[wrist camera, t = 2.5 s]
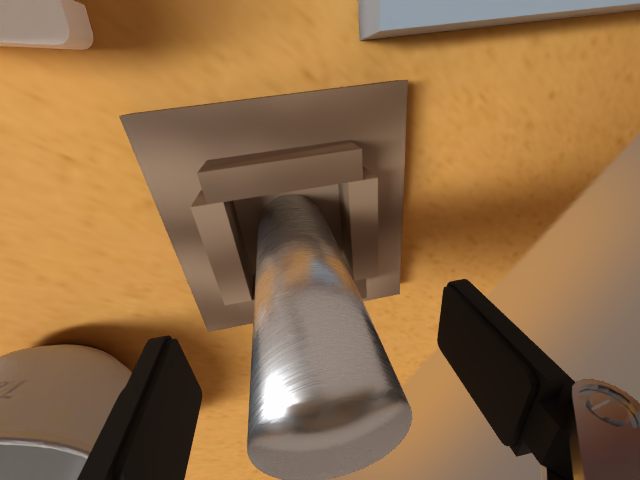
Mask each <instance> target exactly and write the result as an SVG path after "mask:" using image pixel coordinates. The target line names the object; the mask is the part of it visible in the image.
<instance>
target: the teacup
mask: <svg viewBox="0 0 640 480" xmlns="http://www.w3.org/2000/svg"><path fill="white" fill-rule="evenodd" d="M131 374H132V372H131V371H130V370H129V369H128V368H127V367H126V366H124V365H123V364H122V363H120V362H119V361H118V360H117V359H116V358H114V357H113V356H111V355H110V354H108V353H106V352H104V351H101V350H98V349H95V348H92V347H87V346H82V345H68V344H63V345H52V346H40V347H33V348H27V349H22V350H18V351H15V352H12V353H9V354H6V355H3V356H1V357H0V480H77V479H78V476H79V474H80V472H81V470H82V468H83V466H84V464H85V462H86V460H87V458H88V456H89V454H90V452H91V450H92V448H93V446H94V444H95V442H96V440H97V438H98V436H99V434H100V432H101V430H102V428H103V426H104V424H105V422H106V420H107V418H108V416H109V414H110V412H111V410H112V408H113V406H114V404H115V402H116V400H117V398H118V396H119V394H120V393H121V391H122V390H123V389H124V388H125V386H126V384H127V382H128V380H129V378H130V376H131Z"/></svg>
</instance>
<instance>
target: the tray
mask: <svg viewBox="0 0 640 480" xmlns="http://www.w3.org/2000/svg"><path fill="white" fill-rule="evenodd" d="M635 10H640V0H359V31H360V41H362V40H371V39H380V38H389V37H398V36H407V35H416V34H425V33H435V32H444V31H453V30H462V29H471V28H480V27H489V26H498V25H508V24H517V23H526V22H535V21H544V20H553V19H562V18H571V17H581V16H590V15H599V14H608V13H617V12H626V11H635Z"/></svg>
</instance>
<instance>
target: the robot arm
mask: <svg viewBox="0 0 640 480" xmlns="http://www.w3.org/2000/svg"><path fill="white" fill-rule="evenodd" d="M437 341H438V346H439V348H440V350H441V352H442V353H443V355H444V356H445V358H446V359H447V361H448V362H449V364H450V365H451V366H452V368H453V370H454V371H455V373H456V374H457V376H458V377H459V379H460V380H461V382H462V383H463V385H464V386H465V388H466V389H467V391H468V392H469V394H470V395H471V397H472V398H473V400H474V401H475V403H476V404H477V406H478V407H479V409H480V410H481V412H482V413H483V415H484V416H485V418H486V419H487V421H488V423H489V424H490V426H491V427H492V429H493V430H494V432H495V433H496V435H497V436H498V438H499V439H500V440H501V442H502V443H503V444H504V445H506V446H510V448H511V449H512V451H513V452H514V454H515V455H516V456H521V455H525V454H529V453H533V455H534V456H535V457H536V459H537V460H538V461H539V463H540V464H541V480H640V403H639V402H638V401H637V400H636V399H634V398H633V397H632V396H630V395H629V394H628V393H627V392H625V391H623V390H621V389H619V388H618V387H616V386H614V385H611V384H609V383H606V382H604V381H599V380H595V379H582V380H579V381H577V382H575V381H573V380H572V379H571V378H570V377H569V376H568V375H567V374H566V373H565V372H564V371H563V370H562V369H561V368H560V367H559V366H558V365H557V364H556V363H555V362H554V361H553V360H551V359H550V358H549V357H548V356H547V355H546V354H545V353H544V352H543V351H542V350H541V349H540V348H539V347H538V346H537V345H536V344H535V343H534V342H533V341H531V340H530V339H529V338H528V337H527V336H526V335H525V334H524V333H523V332H522V331H521V330H520V329H519V328H518V327H517V326H516V325H515V324H514V323H512V322H511V321H510V320H509V319H508V318H507V317H506V316H505V315H504V314H503V313H502V312H501V311H500V310H499V309H498V308H497V307H495V305H494V304H492V303H491V302H490V301H489V300H488V299H487V298H486V297H485V296H484V295H483V294H482V293H481V292H480V291H479V290H478V289H477V288H476V287H475V286H474V285H473V284H471V283H470V282H469V281H468V280H467V279H462V280H456V281H451V282H449V283H448V284H447V287H444V289H443V297H442V305H441V314H440V322H439V330H438V339H437ZM201 401H202V391H201V388H200V386H199V384H198V382H197V380H196V378H195V376H194V373H193V371H192V369H191V367H190V365H189V363H188V361H187V359H186V357H185V355H184V353H183V351H182V349H181V346H180V344H179V342H178V341H177V339H172V338H171V336H163V337H158V338H152V339H150V340H148V342H147V343H146V345H145V347H144V350H143V352H142V354H141V356H140V358H139V360H138V362H137V364H136V366H135V368H134V370H133V372H132V374H131V376H130V378H129V380H128V382H127V384H126V386H125V388H124V389H123V390H122V391H121V393H120V394H119V396H118V398H117V400H116V402H115V404H114V406H113V408H112V410H111V412H110V414H109V416H108V418H107V420H106V422H105V424H104V426H103V428H102V430H101V432H100V434H99V436H98V438H97V440H96V442H95V444H94V446H93V448H92V450H91V452H90V454H89V456H88V458H87V460H86V462H85V464H84V466H83V468H82V470H81V472H80V474H79V476H78V479H77V480H184V478H185V474H186V469H187V465H188V460H189V456H190V451H191V446H192V442H193V437H194V433H195V428H196V424H197V419H198V415H199V410H200V405H201Z"/></svg>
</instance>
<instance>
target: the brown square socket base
mask: <svg viewBox="0 0 640 480" xmlns="http://www.w3.org/2000/svg"><path fill="white" fill-rule="evenodd" d="M407 88H408V80H396V81H388V82H380V83H372V84H364V85H356V86H348V87H340V88H332V89H323V90H315V91H307V92H299V93H291V94H283V95H275V96H267V97H259V98H251V99H243V100H235V101H227V102H219V103H211V104H203V105H195V106H187V107H179V108H171V109H163V110H155V111H147V112H139V113H131V114H127V115H122V116H119V117H120V119H121V122H122V124H123V127H124V129H125V131H126V134H127V136H128V139H129V141H130V143H131V146H132V148H133V151H134V153H135V156H136V158H137V160H138V163H139V165H140V168H141V170H142V173H143V175H144V177H145V180H146V182H147V185H148V187H149V189H150V192H151V194H152V197H153V199H154V202H155V204H156V206H157V209H158V211H159V214H160V216H161V218H162V221H163V223H164V226H165V228H166V231H167V233H168V235H169V238H170V240H171V243H172V245H173V248H174V250H175V252H176V255H177V257H178V260H179V262H180V264H181V267H182V269H183V272H184V274H185V277H186V279H187V281H188V284H189V286H190V289H191V291H192V294H193V296H194V298H195V301H196V303H197V306H198V308H199V310H200V313H201V315H202V318H203V320H204V323H205V325H206V327H207V330H208V332H210V331H215V330H220V329H225V328H230V327H235V326H241V325H246V324H251V323H253V321H254V301H255V281H256V261H257V242H258V223H259V218H260V215H261V213H262V211H263V209H264V208H265V207H266V205H267V204H268V203H270V202H271V201H272V200H274V199H275V198H277V197H280V196H283V195H288V194H297V195H302V196H305V197H308V198H310V199H311V200H313V201H314V202H315V203H316V204H317V205H318V206H319V207H320V209H321V210H322V212H323V214H324V217H325V219H326V221H327V223H328V226H329V228H330V230H331V232H332V234H333V237H334V239H335V241H336V243H337V245H338V248H339V250H340V252H341V254H342V257H343V259H344V261H345V263H346V265H347V268H348V270H349V272H350V274H351V277H352V279H353V281H354V283H355V285H356V288H357V290H358V292H359V294H360V296H361V299H362V301H367V300H372V299H377V298H382V297H387V296H392V295H397V294H400V270H401V244H402V218H403V192H404V166H405V140H406V114H407Z"/></svg>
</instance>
